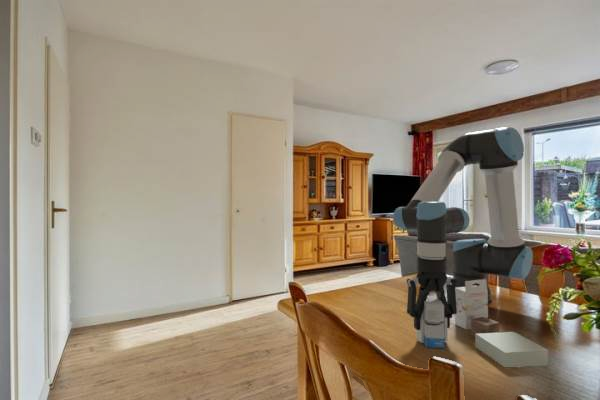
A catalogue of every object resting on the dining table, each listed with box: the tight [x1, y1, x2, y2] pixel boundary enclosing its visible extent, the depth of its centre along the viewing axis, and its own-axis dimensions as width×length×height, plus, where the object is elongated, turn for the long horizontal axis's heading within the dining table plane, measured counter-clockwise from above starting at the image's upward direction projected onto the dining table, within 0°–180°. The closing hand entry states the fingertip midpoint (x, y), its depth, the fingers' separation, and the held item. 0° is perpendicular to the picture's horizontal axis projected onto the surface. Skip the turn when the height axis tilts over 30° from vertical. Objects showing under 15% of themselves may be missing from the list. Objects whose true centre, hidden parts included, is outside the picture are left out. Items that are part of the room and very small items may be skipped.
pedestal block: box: [474, 331, 549, 368], centre depth 83 cm, size 11×11×4 cm
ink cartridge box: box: [454, 278, 489, 330], centre depth 103 cm, size 9×5×15 cm, turn 106°
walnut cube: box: [470, 317, 500, 339], centre depth 94 cm, size 5×5×5 cm
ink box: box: [421, 295, 445, 349], centre depth 92 cm, size 8×5×12 cm, turn 169°
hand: (432, 339), depth 92 cm, fingers closed on ink box, 6 cm apart
